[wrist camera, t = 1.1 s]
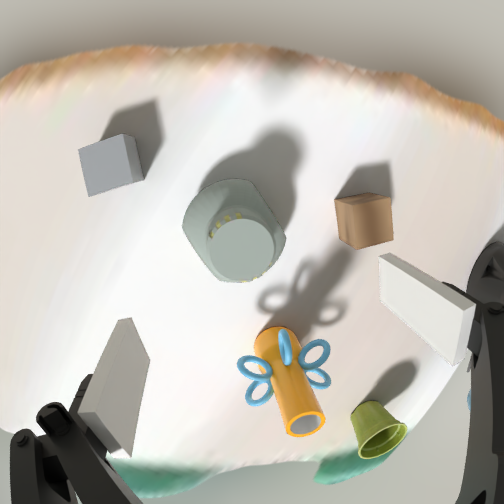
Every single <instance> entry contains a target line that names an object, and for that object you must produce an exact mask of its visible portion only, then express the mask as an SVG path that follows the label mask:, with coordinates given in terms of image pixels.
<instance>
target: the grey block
mask: <svg viewBox="0 0 504 504" xmlns="http://www.w3.org/2000/svg"><path fill="white" fill-rule="evenodd" d="M78 151H79V156H80V161H81V166H82V170H83V175H84V179H85V184H86V188H87V192H88V196H89V197H90V196H93V195H97V194H100V193H103V192H106V191H109V190H113V189H116V188H119V187H122V186H125V185H129V184H132V183H135V182H139V181H142V180H144V177H143V173H142V168H141V164H140V159H139V155H138V150H137V145H136V140H135V137H132V136H129V135H126V134H123V133H122V134H119V135H116V136H113V137H111V138H108V139H105V140H102V141H99V142H96V143H94V144H91V145H88V146H86V147H83V148H81V149H78Z"/></svg>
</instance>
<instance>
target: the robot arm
mask: <svg viewBox="0 0 504 504" xmlns="http://www.w3.org/2000/svg"><path fill="white" fill-rule="evenodd" d="M379 279H380V302H381V303H383V304H384V305H385V306H386V307H387V308H388V309H389V310H391V311H392V312H393V313H394V314H395V315H396V316H397V317H399V318H400V319H401V320H402V321H403V322H404V323H405V324H406V325H408V326H409V327H410V328H411V329H412V330H413V331H414V332H415V333H416V334H417V335H419V336H420V337H421V338H422V339H423V340H424V341H425V342H426V343H427V344H428V345H430V346H431V347H432V348H433V349H434V350H435V351H436V352H437V353H438V354H439V355H440V356H441V357H442V358H444V359H445V360H446V361H447V362H448V363H449V364H450V365H451V366H454V365H456V364H457V363H459V362H461V361H462V360H464V359H465V355H466V351H467V348H468V349H469V350H471V351H472V356H471V359H470V362H469V366H468V370H467V372H469V371H470V368H471V390H470V391H469V393H468V397H467V402H468V407H469V410H470V428H469V439H468V449H467V456H466V463H465V469H464V476H463V481H462V486H461V491H460V494H459V497H458V499H457V501H456V503H455V504H504V244H503V243H501V242H495V243H493V244H491V245H489V246H488V247H487V248H486V249H485V250H484V251H483V253H482V254H481V255H480V257H479V258H478V260H477V262H476V264H475V266H474V268H473V270H472V273H471V275H470V279H469V282H468V286H467V292H466V293H465V292H464V291H462V290H460V289H459V288H457V287H456V286H454V285H452V284H449V283H445V282H440V281H438V280H436V279H435V278H433V277H431V276H430V275H428V274H426V273H425V272H423V271H421V270H419V269H418V268H416V267H414V266H413V265H411V264H409V263H407V262H406V261H404V260H402V259H400V258H399V257H397V256H395V255H393V254H391V253H388V254H384V255H381V256H379ZM149 364H150V359H149V356H148V354H147V352H146V350H145V348H144V346H143V343H142V341H141V339H140V337H139V334H138V332H137V330H136V327H135V325H134V322H133V320H132V318H126V319H121V320H118V322H117V324H116V326H115V328H114V330H113V332H112V334H111V336H110V338H109V340H108V343H107V345H106V347H105V349H104V351H103V353H102V356H101V358H100V360H99V362H98V364H97V367H96V369H95V371H94V374H88V375H87V376H86V377H85V379H84V380H83V381H82V382H81V384H80V386H79V388H78V391H77V393H76V395H75V398H74V400H73V402H72V404H71V407H70V409H69V412H68V411H67V410H66V409H65V407H64V406H63V405H62V404H61V403H59V402H52V403H49V404H47V405H45V406H44V407H42V408H41V409H40V411H39V412H38V414H37V416H36V422H37V423H38V424H39V426H40V427H41V428H42V429H43V430H44V432H45V433H46V435H42V436H38V437H37V436H36V435H35V434H34V433H33V432H32V431H31V430H30V429H22V430H20V431H18V432H16V433H15V434H14V436H13V438H12V439H11V444H10V484H11V485H10V486H11V501H12V504H78V502H77V498H76V494H77V495H78V497H79V499H80V501H81V502H82V504H143V503H142V502H141V501H140V500H139V498H138V497H137V496H136V495H135V494H134V493H133V491H132V490H131V489H130V488H129V487H128V485H127V484H126V483H125V482H124V480H123V479H122V478H121V477H120V475H119V474H118V473H117V471H116V470H115V469H114V467H113V466H112V465H111V463H110V462H109V461H108V460H107V459H106V458H105V457H106V453H107V450H108V452H109V453H110V454H111V455H112V456H113V457H114V458H131V457H132V450H133V444H134V438H135V433H136V427H137V422H138V416H139V411H140V406H141V401H142V396H143V391H144V386H145V382H146V377H147V372H148V368H149ZM75 492H76V494H75Z"/></svg>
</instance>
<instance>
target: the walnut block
mask: <svg viewBox="0 0 504 504" xmlns="http://www.w3.org/2000/svg"><path fill="white" fill-rule="evenodd" d="M334 201H335V208H336V216H337V224H338V232H339V239H340V240H342V241H344V242H345V243H347V244H348V245H350V246H352V247H353V248H355V249H356V250H358V249H362V248H366V247H370V246H373V245H377V244H381V243H385V242H388V241H392V240H393V223H392V210H391V199H390V197H386V196H381V195H377V194H373V193H365V194H360V195H354V196H349V197H344V198H339V199H334Z"/></svg>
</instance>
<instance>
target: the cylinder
mask: <svg viewBox="0 0 504 504" xmlns="http://www.w3.org/2000/svg"><path fill="white" fill-rule="evenodd" d="M315 346H323V348H324V351H323V354H322V355H321V357H320V358H319V359H318V360H317V361H315V362H313V363H306V362H305V356H306V354H307V352H308V351H309V350H310V349H312V348H313V347H315ZM254 352H255V356H250V355H248V356H243V357H241V358H240V359H239V360H238V362H237V367H238V369H239V371H240V372H241V373H242V374H243V375H244V376H245V377H247V378H249V379H252V380H255V381H254V382H253V383H252V384H251V385H250V386H249V387H248V389H247V391H246V395H245V399H246V402H247V403H248V404H249V405H251V406H260V405H262V404H264V403H266V402H267V401H268V400H269V399H270V398H271V396H272V395H273V393H275V396H276V400H277V403H278V406H279V409H280V413H281V416H282V419H283V422H284V426H285V429H286V432H287V433H288V434H289V435H291V436H294V437H304V436H308V435H311V434H313V433H315V432H316V431H318V430H319V429H320V428H321V427H322V426H323V425H324V423H325V416H324V414H323V412H322V409H321V407H320V405H319V403H318V401H317V399H316V396H315V394H314V392H313V390H312V388H311V387H313V388H316V389H326V388H328V387H329V386H330V384H331V378H330V376H329V375H328V374H327V373H326V372H325V371H323V370H322V369H320V368H318V367H319V366H321V365H322V364H323V363H324V362H325V361H326V360H327V358H328V357H329V354H330V345H329V343H328V342H327V341H325V340H322V339H317V340H314V341H311V342H310V343H308V344H307V345H306V346H305V347H304V348H303V349H302V347H301V345H300V343H299V341H298V339H297V337H296V335H295V334H294V333H293V332H292V331H291V330H290V329H288V328H285V327H280V326H278V327H271V328H269V329H266V330H265V331H263V332H262V333H260V334H259V336H258V337H257V338H256V340H255V343H254ZM245 362H254V363H257V364H258V367H259V370H260V372H261V373H262V374H255V373H252V372H250V371H249V370H248V369H246V368H245V366H244V363H245ZM306 372H314V373H317V374H319V375H320V376H321V377H323V379H324V380H325V382H324V383H318V382H315V381H313V380H311V379H310V378H309V377H308V376H307V375H306ZM262 383H267V384H268V390H267V392H266V394H265V395H264V396H263V397H262V398H260V399H258V400H253V399H252V393H253V391H254V389H255V388H256V387H257V386H258V385H260V384H262Z"/></svg>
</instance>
